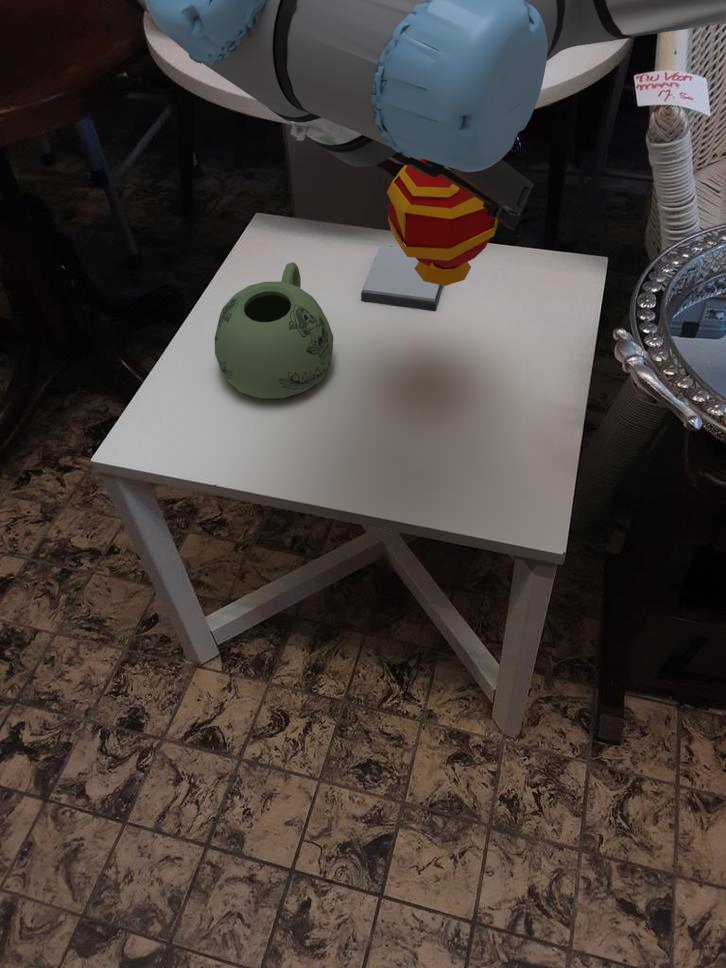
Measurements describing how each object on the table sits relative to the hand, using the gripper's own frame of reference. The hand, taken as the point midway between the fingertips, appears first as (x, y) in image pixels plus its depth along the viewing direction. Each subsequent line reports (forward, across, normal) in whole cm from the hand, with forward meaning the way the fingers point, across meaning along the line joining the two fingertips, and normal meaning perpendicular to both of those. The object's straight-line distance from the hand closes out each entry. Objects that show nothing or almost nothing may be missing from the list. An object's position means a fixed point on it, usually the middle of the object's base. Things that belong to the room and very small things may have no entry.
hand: (465, 194), depth 69 cm
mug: (+7, -16, -22) cm, 28 cm away
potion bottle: (+2, 0, -6) cm, 7 cm away
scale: (+20, -12, -9) cm, 25 cm away
